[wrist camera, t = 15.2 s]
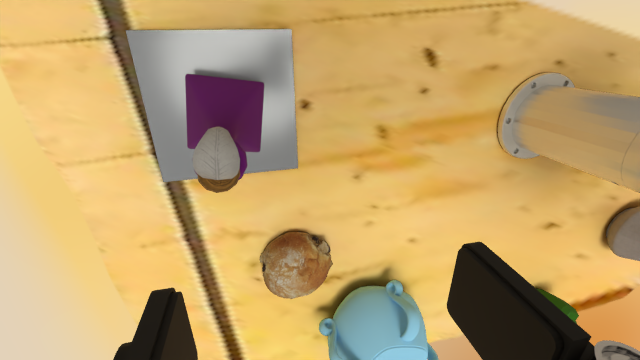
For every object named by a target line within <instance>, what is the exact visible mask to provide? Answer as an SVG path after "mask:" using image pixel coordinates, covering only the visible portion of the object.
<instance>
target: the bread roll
mask: <svg viewBox="0 0 640 360" xmlns="http://www.w3.org/2000/svg"><path fill="white" fill-rule="evenodd" d="M329 252H330V247H329V246H328V244H327V243H326V242H324V241H322V242H321V241H320V240H319V239H318V237H316V236H311V235H310V234H308V233H302V232H287V233H285V234H283V235H280V236H279V237H278V238H276V239H275V240H273V241H272V242H270V243H269V244H268V245H267V247H266V249H265V251H264V253H261V256H260V263H261V262H263V267H262V269H263V270H262V271H263V272H264V273H263V277H264V281H265V284H266V286H267V287H268V289H269V290H270V291H271V292H272V293H274V294H275V295H277V296H279V297H283V298H290V299H293V298H296V297H301V296H305V295H308V294H310V293H312V292H313V291H315V290H316V289H317V288H318V287H319V286H320V285H321V284H322V283H323V282H324V280H325V279H326V277H327V274H328V271H329V269H330V267H331V266H332V264H333V263H332V261H331V255H330V254H329ZM319 254H320V255H319Z"/></svg>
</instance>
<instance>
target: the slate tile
mask: <svg viewBox="0 0 640 360" xmlns="http://www.w3.org/2000/svg"><path fill="white" fill-rule="evenodd" d="M126 34H127V38H128V42H129V46H130V50H131V54H132V58H133V62H134V66H135V70H136V74H137V78H138V82H139V86H140V90H141V94H142V98H143V102H144V106H145V110H146V114H147V118H148V122H149V126H150V130H151V134H152V138H153V142H154V146H155V150H156V154H157V158H158V162H159V166H160V171H161V175H162V179H163V182H168V181H178V180H188V179H198V175H197V174H196V173H195V170H194V167H193V160H192V158H193V154H194V151H195V149H190V148H188V147H187V120H186V89H185V75H186V74H194V75H203V76H212V77H221V78H230V79H239V80H248V81H257V82H263V83H264V101H263V117H262V133H261V149H260V152H246V156H247V164H248V166H247V168H246V170H245V172H244V174H246V173H256V172H266V171H276V170H285V169H295V168H298V157H297V136H296V114H295V93H294V72H293V50H292V29H239V30H126Z"/></svg>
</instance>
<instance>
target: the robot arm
mask: <svg viewBox="0 0 640 360" xmlns="http://www.w3.org/2000/svg"><path fill="white" fill-rule="evenodd" d="M498 138H499V142H500V144H501V146H502V148H503V149H504V150H505V151H506V152H507V153H508V154H510V155H512V156H515V157H517V158H522V159H528V158H533V157H537V156H539V155H542V156H544V157H547V158H550V159H552V160H555V161H557V162H560V163H563V164H565V165H568V166H570V167H573V168H576V169H578V170H581V171H583V172H586V173H589V174H591V175H594V176H597V177H599V178H602V179H604V180H607V181H610V182H612V183H615V184H617V185H620V186H623V187H626V188H628V189H631V190H633V191H636V192H639V193H640V97H635V96H628V95H621V94H614V93H607V92H600V91H593V90H586V89H579V88H575V86H574V84H573V83H572V81H571V80H570V79H569V78H568V77H566V76H565V75H562V74H560V73H552V72H550V73H541V74H538V75H535V76H533V77H531V78H529V79H528V80H526V81H525V82H523V83H522V84H521V85H520V86H519V87H518V88H517V89H516V90H515V91H514V92H513V93H512V95H511V96H510V97H509V99H508V100H507V102H506V104H505V105H504V107H503V110H502V112H501V115H500V118H499V122H498ZM447 309H448V312H449V314H450V316H451V317H452V318H453V320H454V321H455V323H456V324H457V325H458V327H459V328H460V329H461V331H462V332H463V333H464V335H465V336H466V338H467V339H468V340H469V342H470V343H471V344H472V346H473V347H474V348H475V350H476V351H477V352H478V354H479V355H480V357H481V358H482V359H483V360H640V352H639V351H638V350H636V349H634V348H632V347H630V346H628V345H625V344H623V343H619V342H614V341H601V342H598V343H597V344H596V345H595V346H593V345H592V344H591V343H590V342H589V340H590V338H591V336H590V335H589V334H588V333H587V332H585V331H584V330H583V329H582V328H581V327H580V326H578V325H577V324H576V323H575V322H574V321H573V320H571V319H570V318H569V317H568V316H567V315H566V314H565V313H563V312H562V311H561V310H560V309H559V308H558V307H556V306H555V305H554V304H553V303H552V302H551V301H549V300H548V299H547V298H546V297H545V296H544V295H543V294H541V293H540V292H539V291H538V290H537V289H536V288H534V287H533V286H532V285H531V284H530V283H529V282H527V281H526V280H525V279H524V278H523V277H522V276H521V275H519V274H518V273H517V272H516V271H515V270H514V269H512V268H511V267H510V266H509V265H508V264H507V263H505V262H504V261H503V260H502V259H501V258H500V257H499V256H497V255H496V254H495V253H494V252H493V251H492V250H490V249H489V248H488V247H487V246H486V245H485V244H483V243H482V242H475V243H468V244H464V245H463V246H462V248H461V249H460V250H459V251H458V255H457V259H456V264H455V269H454V273H453V278H452V283H451V287H450V292H449V297H448V301H447ZM113 360H198V356H197V349H196V345H195V341H194V338H193V334H192V330H191V326H190V322H189V318H188V314H187V311H186V307H185V303H184V299H183V295H182V293H181V292H176V291H175V289H174V288H168V289H161V290H155V291H152V292H151V294H150V296H149V299H148V302H147V304H146V307H145V309H144V312H143V315H142V317H141V320H140V322H139V325H138V328H137V330H136V333H135V336H134V338H133V341H132V342H129V343H124V344H122V345H121V346H120V347H119V349H118V351H117V353H116V355H115V357H114V359H113Z"/></svg>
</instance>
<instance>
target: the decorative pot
mask: <svg viewBox="0 0 640 360" xmlns="http://www.w3.org/2000/svg"><path fill="white" fill-rule="evenodd" d="M319 330H320V332H321V334H323V335H325V336H328V346H329V358H330V360H427V359H428V360H438V356H437V354H436V352H435V351H434V350H433V348H432V347H431V346H430V345H429V344H428V342H427V338H426V330H425V325H424V321H423V318H422V315H421V312H420V310H419V308H418V306H417V304H416V302H415V301H414V299H413V298H412V297H411V296H410V295H409V294H407V293H405V292H403V286H402V284H401V283H400V282H399V281H397V280H392V281H390V282H389V283H388V284H387V285H386V287H383V286H364V287H360V288H358V289H356V290H354V291H352V292H351V293H350V294H349V295H348V296H347V297H346V298H345V299H344V300H343V301H342V302H341V304H340V305H339V307H338V308H337V310H336V312H335V314H334V316H333V319H331V318H326V319H323V320H322V321H321V322H320V324H319Z"/></svg>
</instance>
